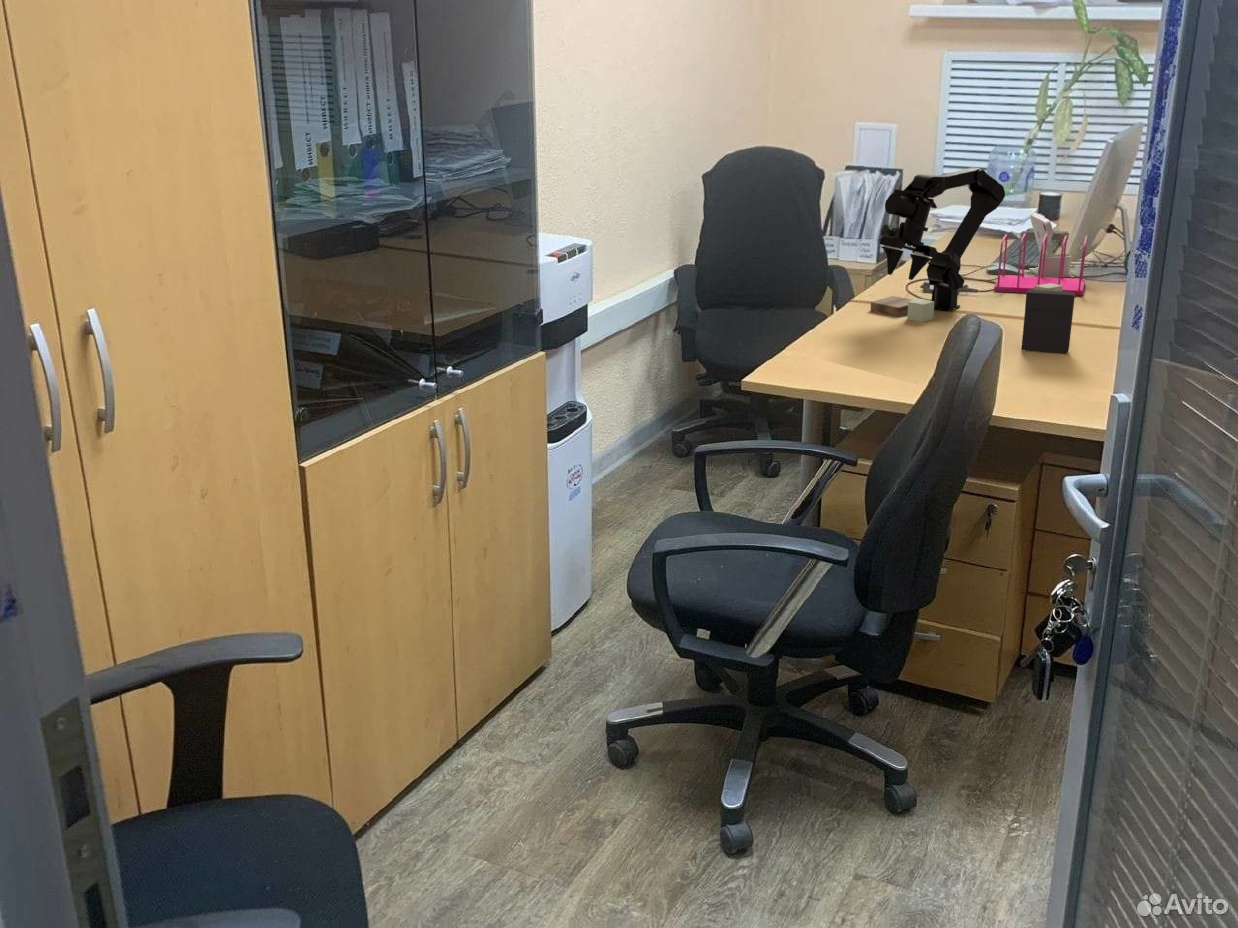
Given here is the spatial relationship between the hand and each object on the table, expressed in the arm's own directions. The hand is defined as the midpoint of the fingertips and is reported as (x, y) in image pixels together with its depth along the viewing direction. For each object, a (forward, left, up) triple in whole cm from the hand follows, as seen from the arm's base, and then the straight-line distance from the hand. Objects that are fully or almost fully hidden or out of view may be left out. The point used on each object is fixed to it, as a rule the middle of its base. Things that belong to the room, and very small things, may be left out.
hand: (900, 277), depth 319 cm
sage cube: (-6, -3, -11) cm, 13 cm away
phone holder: (+4, -80, -12) cm, 81 cm away
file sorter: (-8, -58, -12) cm, 59 cm away
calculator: (-48, +2, -12) cm, 49 cm away
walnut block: (+5, -6, -12) cm, 14 cm away
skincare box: (-37, -15, -12) cm, 41 cm away
